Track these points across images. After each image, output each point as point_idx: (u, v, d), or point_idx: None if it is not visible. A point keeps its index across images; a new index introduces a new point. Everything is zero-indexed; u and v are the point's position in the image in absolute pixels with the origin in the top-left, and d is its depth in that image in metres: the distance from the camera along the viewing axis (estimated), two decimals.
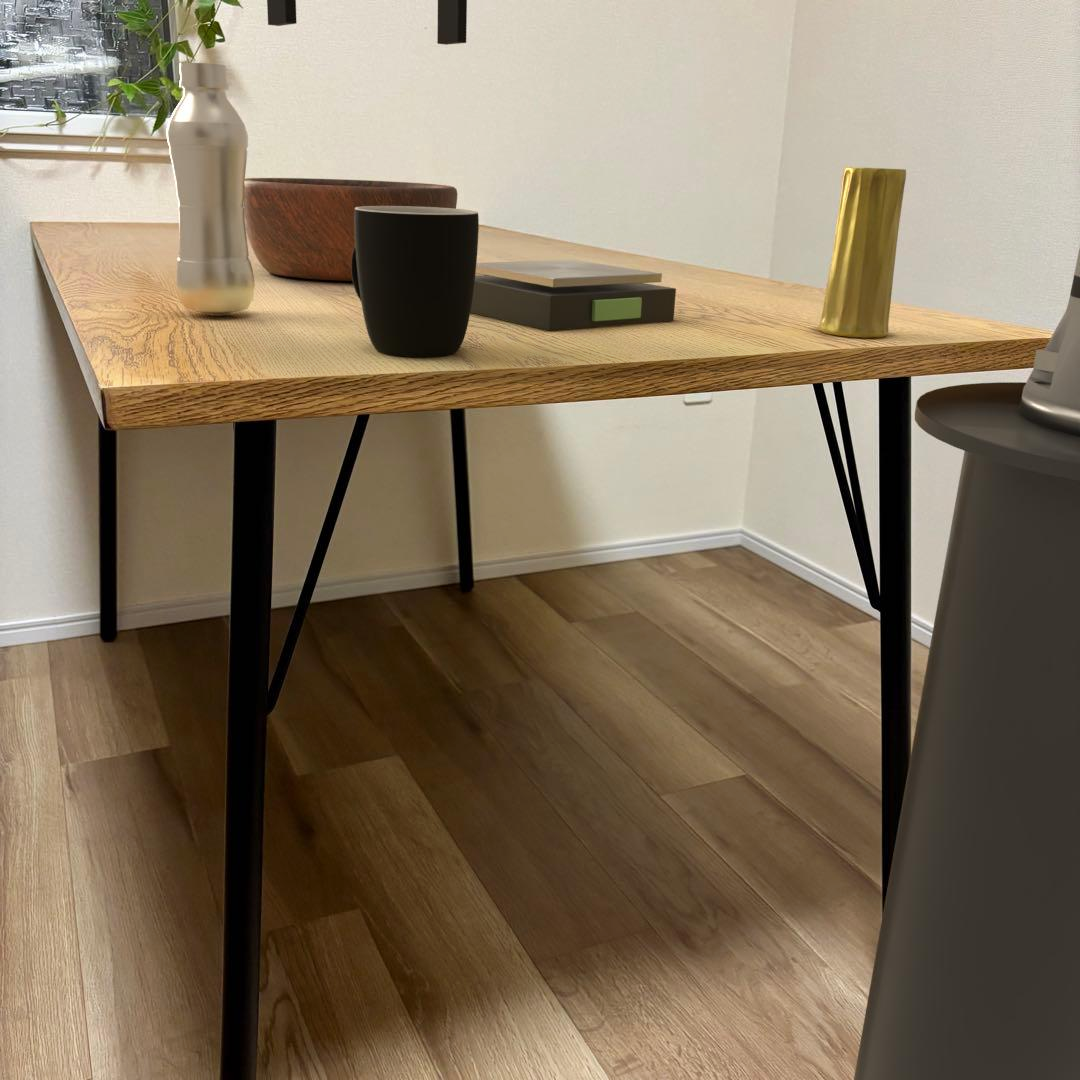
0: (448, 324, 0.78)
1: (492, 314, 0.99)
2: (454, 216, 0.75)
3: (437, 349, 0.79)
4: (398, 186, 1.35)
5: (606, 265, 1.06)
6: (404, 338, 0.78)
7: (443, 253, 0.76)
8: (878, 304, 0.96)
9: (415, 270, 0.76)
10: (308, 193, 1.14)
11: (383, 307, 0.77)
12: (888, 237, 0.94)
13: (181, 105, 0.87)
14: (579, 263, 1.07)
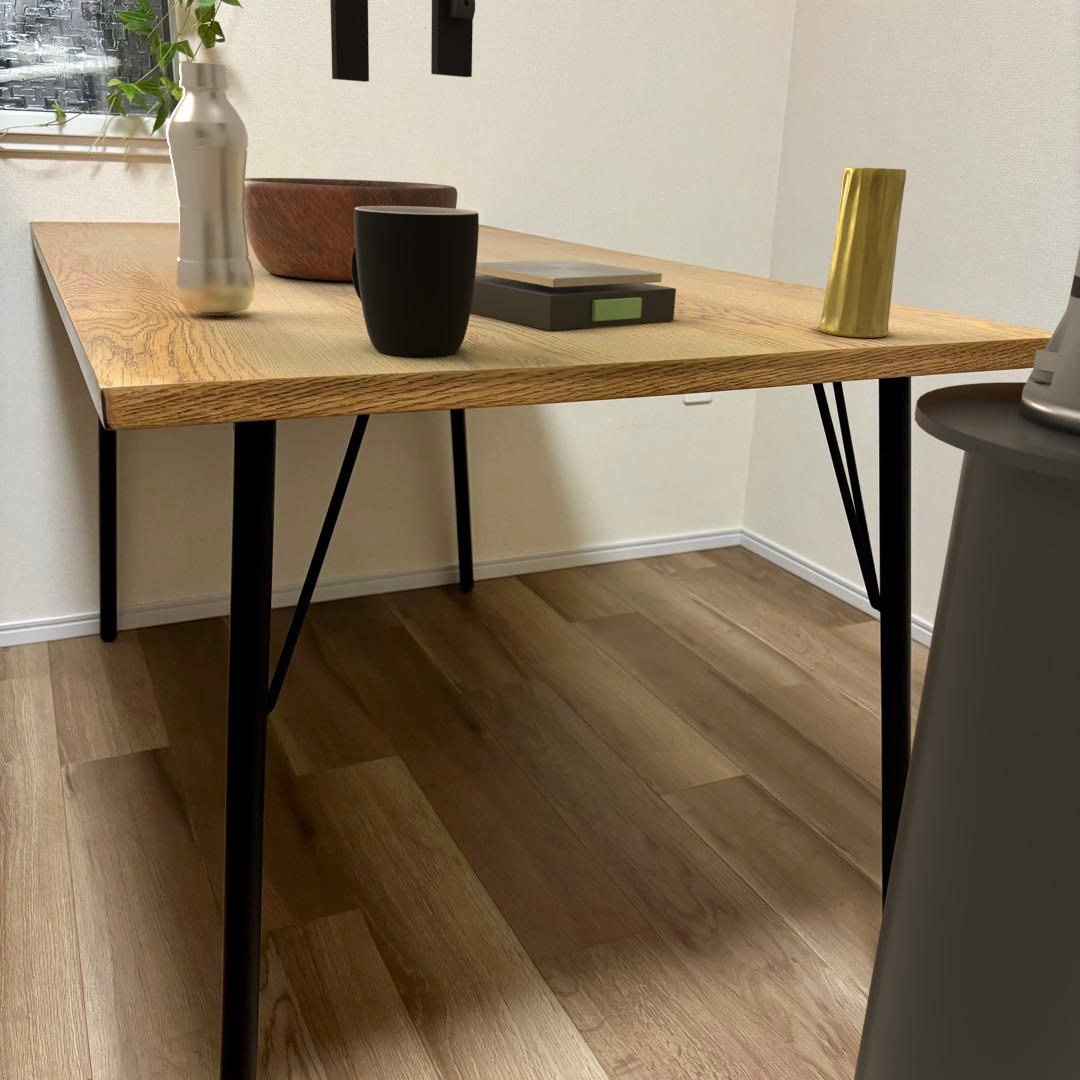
0: (448, 324, 0.78)
1: (492, 314, 0.99)
2: (454, 216, 0.75)
3: (437, 349, 0.79)
4: (398, 186, 1.35)
5: (606, 265, 1.06)
6: (404, 338, 0.78)
7: (443, 253, 0.76)
8: (878, 304, 0.96)
9: (415, 270, 0.76)
10: (308, 193, 1.14)
11: (383, 307, 0.77)
12: (888, 237, 0.94)
13: (181, 105, 0.87)
14: (579, 263, 1.07)
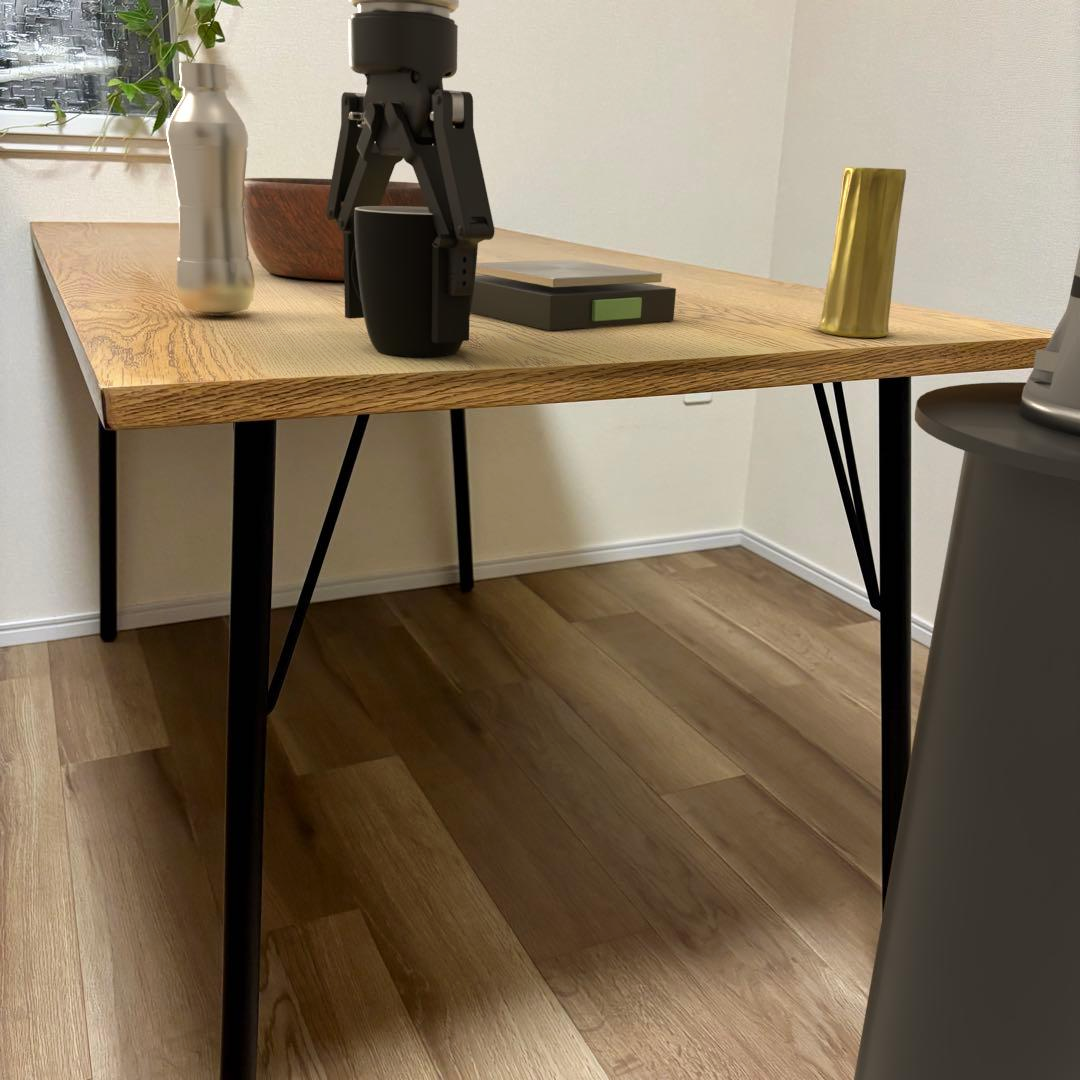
0: None
1: (492, 314, 0.99)
2: None
3: (437, 349, 0.79)
4: (398, 186, 1.35)
5: (606, 265, 1.06)
6: (404, 338, 0.78)
7: None
8: (878, 304, 0.96)
9: (415, 270, 0.76)
10: (308, 193, 1.14)
11: (383, 307, 0.77)
12: (888, 237, 0.94)
13: (181, 105, 0.87)
14: (579, 263, 1.07)
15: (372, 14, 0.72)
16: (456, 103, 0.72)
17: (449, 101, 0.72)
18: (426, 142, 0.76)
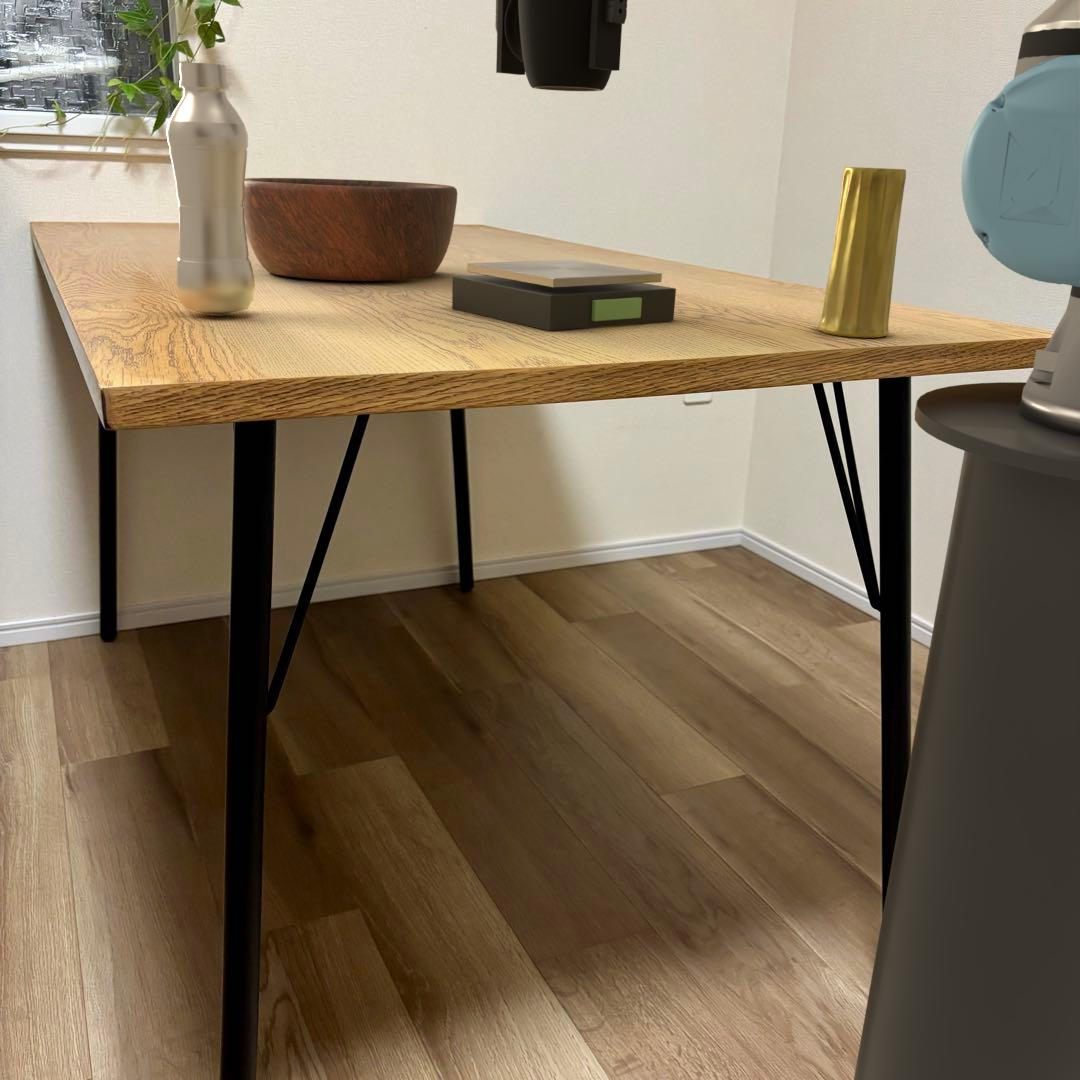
0: None
1: (492, 314, 0.99)
2: None
3: (590, 80, 0.90)
4: (398, 186, 1.35)
5: (606, 265, 1.06)
6: (563, 67, 0.89)
7: None
8: (878, 304, 0.96)
9: (577, 1, 0.87)
10: (308, 193, 1.14)
11: (546, 38, 0.88)
12: (888, 237, 0.94)
13: (181, 105, 0.87)
14: (579, 263, 1.07)
15: None
16: None
17: None
18: None
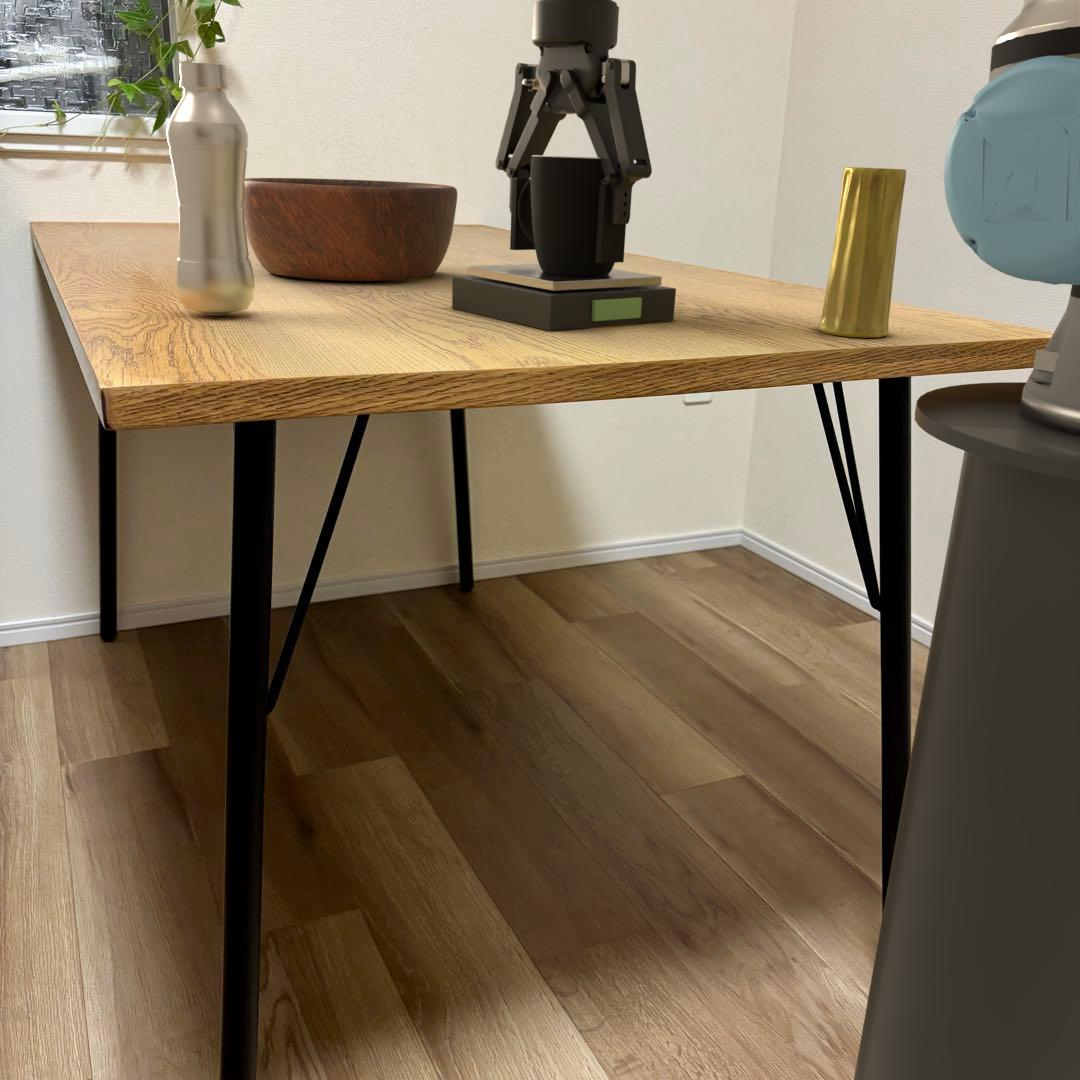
0: None
1: (492, 314, 0.99)
2: None
3: (597, 269, 0.98)
4: (398, 186, 1.35)
5: None
6: (572, 260, 0.97)
7: None
8: (878, 304, 0.96)
9: (585, 204, 0.95)
10: (308, 193, 1.14)
11: (556, 235, 0.96)
12: (888, 237, 0.94)
13: (181, 105, 0.87)
14: None
15: None
16: (624, 68, 0.91)
17: (619, 67, 0.91)
18: (593, 101, 0.95)
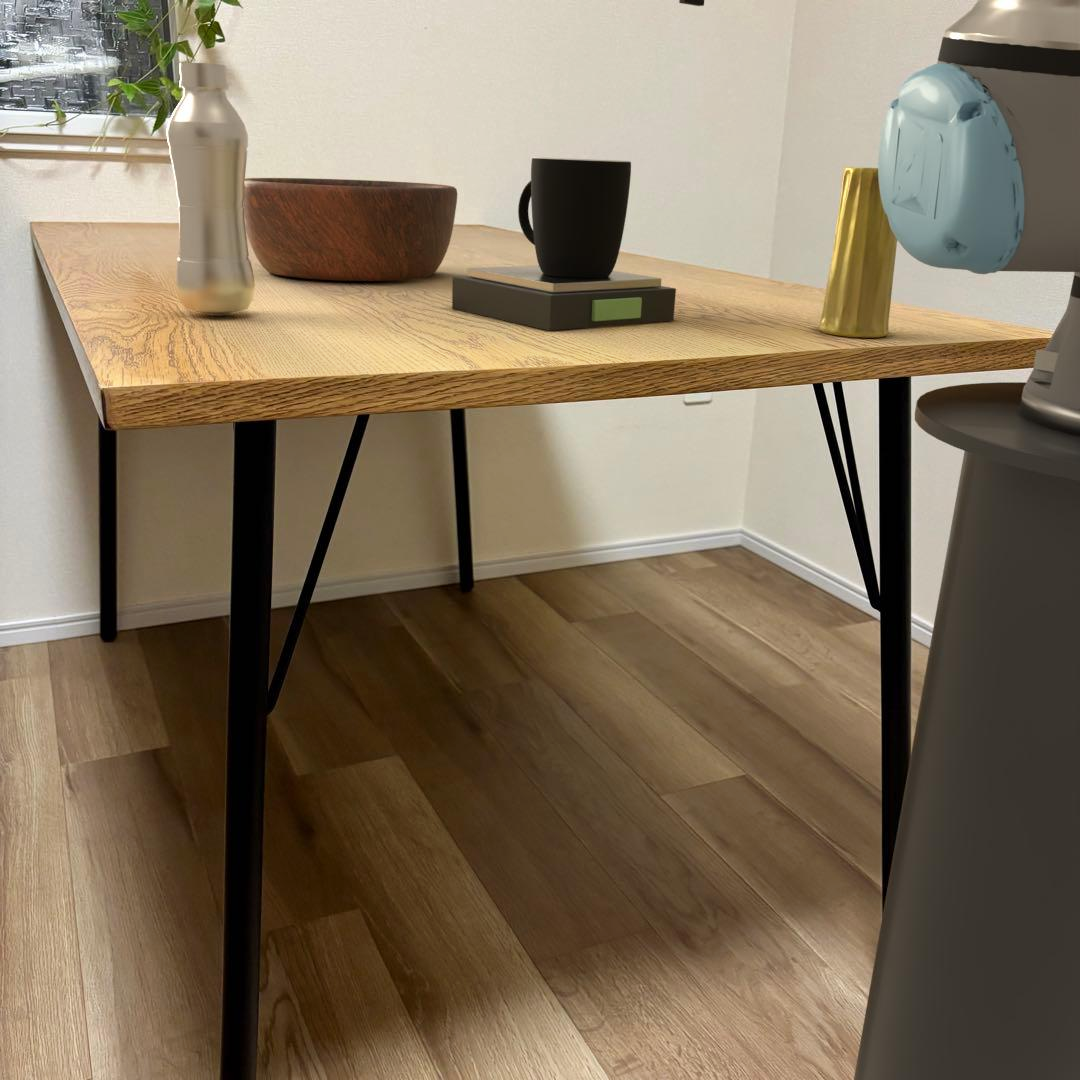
0: (607, 251, 0.97)
1: (492, 314, 0.99)
2: (616, 162, 0.94)
3: (597, 272, 0.98)
4: (398, 186, 1.35)
5: None
6: (572, 262, 0.97)
7: (607, 192, 0.95)
8: (878, 304, 0.96)
9: (585, 206, 0.95)
10: (308, 193, 1.14)
11: (556, 237, 0.96)
12: (888, 237, 0.94)
13: (181, 105, 0.87)
14: None
15: None
16: None
17: None
18: None
